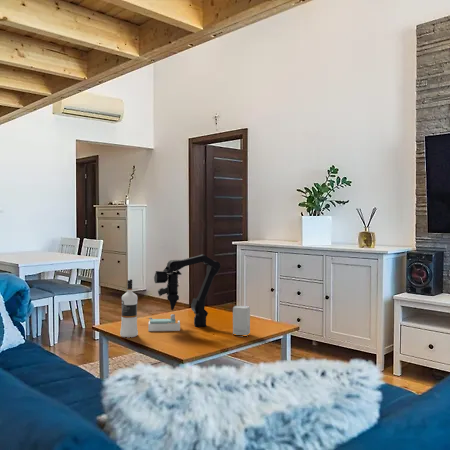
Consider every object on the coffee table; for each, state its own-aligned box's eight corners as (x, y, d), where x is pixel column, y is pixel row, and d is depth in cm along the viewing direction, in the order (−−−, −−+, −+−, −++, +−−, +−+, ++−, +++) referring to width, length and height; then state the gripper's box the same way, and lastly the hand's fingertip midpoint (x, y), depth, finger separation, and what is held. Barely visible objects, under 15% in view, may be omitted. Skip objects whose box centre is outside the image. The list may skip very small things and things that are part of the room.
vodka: (139, 337, 246) (140, 280, 245) (122, 338, 242) (123, 280, 241) (135, 332, 254) (136, 277, 253) (118, 334, 250) (119, 278, 250)
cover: (175, 319, 268) (175, 313, 268) (175, 322, 261) (175, 315, 261) (148, 320, 266) (148, 313, 266) (148, 323, 259) (148, 316, 259)
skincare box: (250, 334, 256) (250, 306, 255) (246, 337, 249) (247, 308, 249) (235, 332, 258) (236, 304, 258) (232, 335, 252) (232, 307, 252)
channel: (179, 327, 268) (179, 320, 268) (180, 330, 261) (180, 323, 261) (148, 327, 266) (148, 320, 266) (148, 331, 258) (148, 323, 258)
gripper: (158, 280, 274) (157, 306, 274) (158, 285, 256) (158, 313, 256) (177, 280, 276) (176, 306, 276) (179, 285, 257) (178, 313, 258)
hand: (172, 309), depth 266 cm, fingers closed
